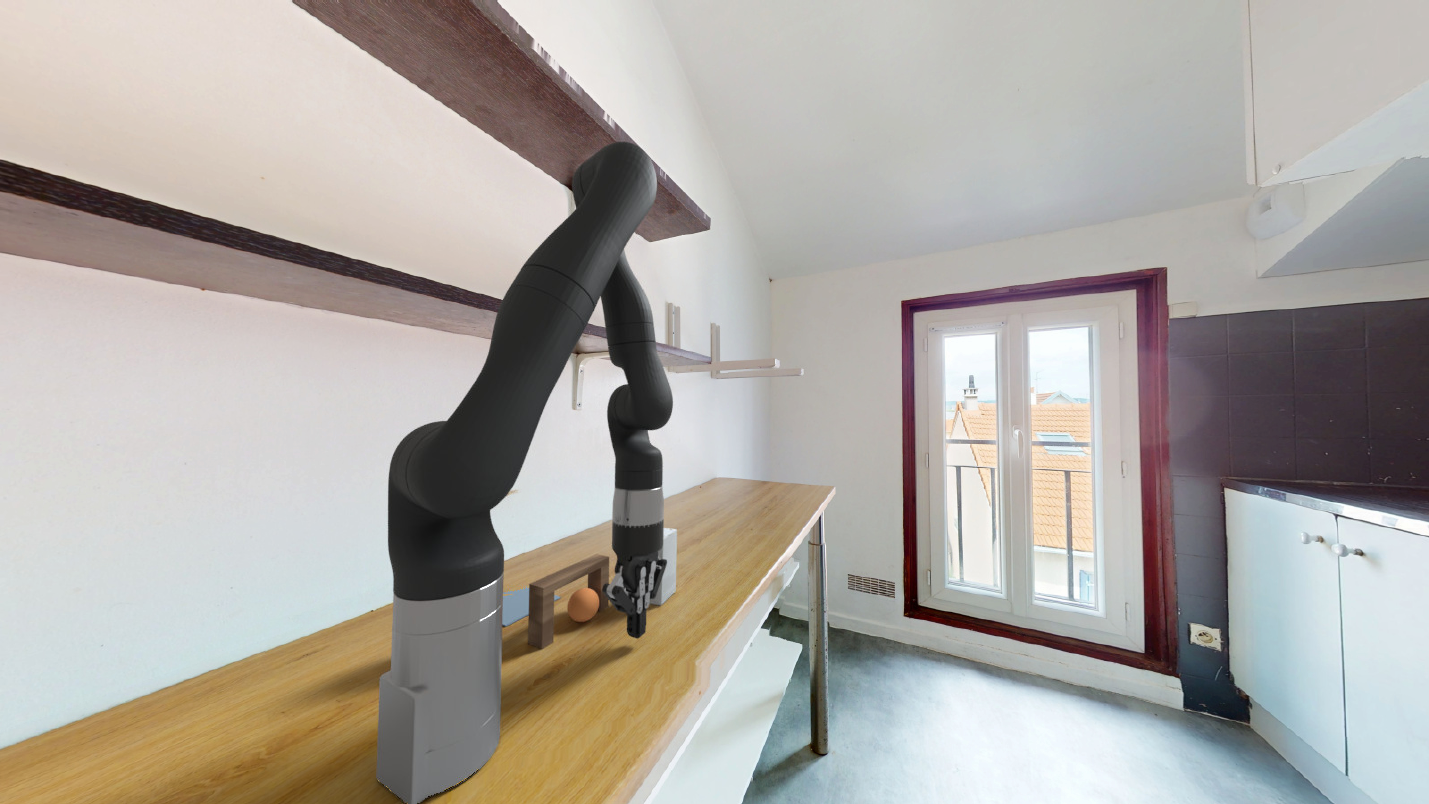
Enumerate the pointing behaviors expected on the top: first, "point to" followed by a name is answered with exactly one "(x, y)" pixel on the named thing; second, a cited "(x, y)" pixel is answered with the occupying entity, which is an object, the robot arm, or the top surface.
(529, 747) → the top surface
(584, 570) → the bridge
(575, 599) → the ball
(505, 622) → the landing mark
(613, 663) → the top surface
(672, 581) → the skincare box
